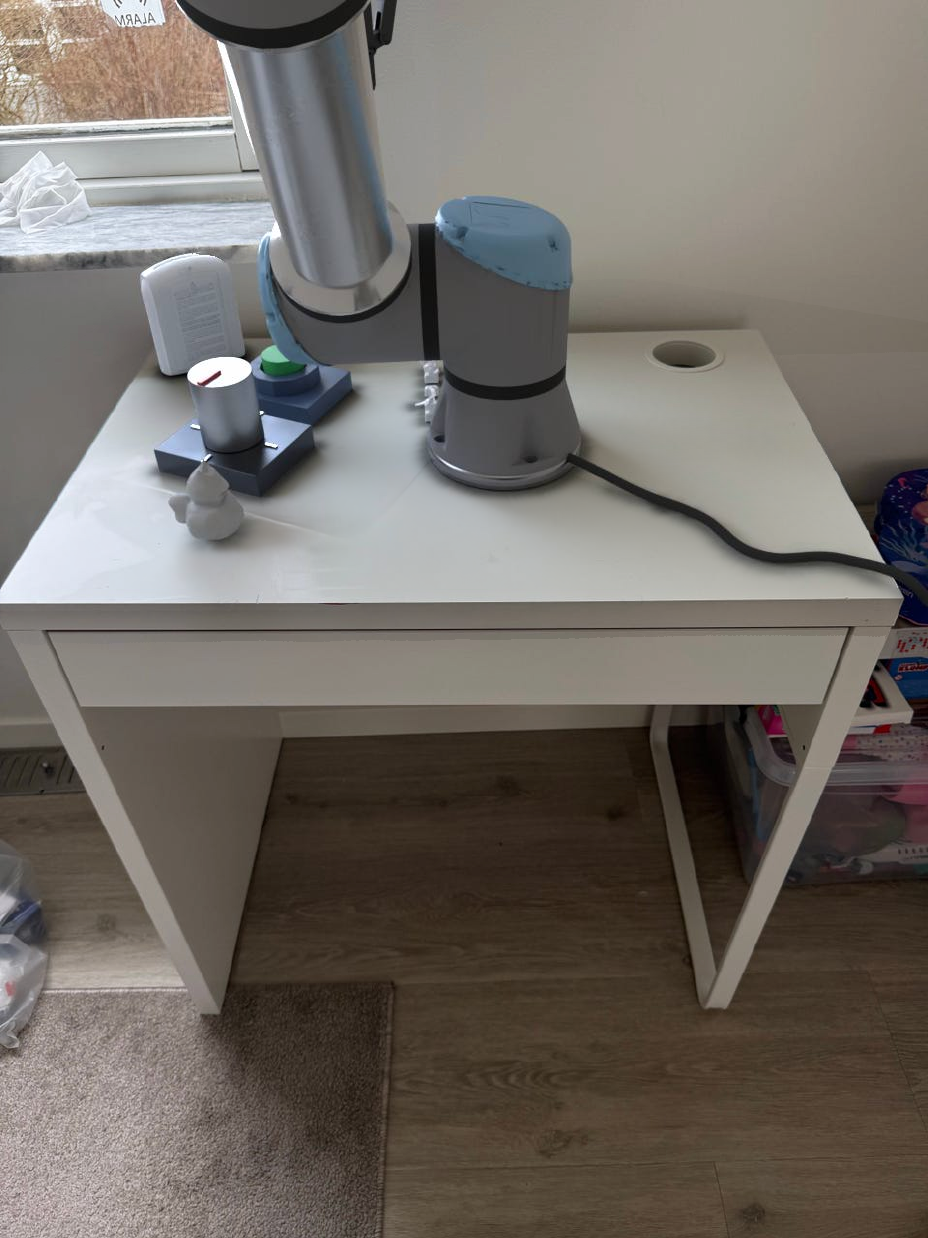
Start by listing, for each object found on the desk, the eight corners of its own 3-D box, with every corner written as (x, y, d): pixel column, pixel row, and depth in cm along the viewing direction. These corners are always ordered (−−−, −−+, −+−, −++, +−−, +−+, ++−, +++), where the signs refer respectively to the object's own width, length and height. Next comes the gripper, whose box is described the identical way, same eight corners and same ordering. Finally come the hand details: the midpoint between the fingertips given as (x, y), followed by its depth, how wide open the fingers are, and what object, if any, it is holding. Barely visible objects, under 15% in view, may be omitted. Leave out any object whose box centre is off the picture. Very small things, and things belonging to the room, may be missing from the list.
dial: (228, 415, 97) (214, 349, 92) (276, 429, 94) (264, 361, 89) (190, 444, 93) (173, 376, 88) (239, 458, 90) (224, 389, 86)
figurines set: (442, 422, 100) (441, 398, 98) (415, 423, 99) (413, 399, 98) (440, 368, 108) (439, 345, 107) (415, 369, 108) (414, 346, 106)
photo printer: (237, 343, 114) (217, 240, 106) (252, 356, 112) (232, 251, 104) (155, 367, 110) (128, 261, 102) (168, 381, 108) (141, 274, 99)
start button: (312, 362, 103) (310, 347, 101) (290, 380, 100) (287, 365, 98) (278, 355, 104) (275, 340, 103) (255, 373, 101) (252, 358, 100)
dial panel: (315, 445, 97) (312, 423, 95) (259, 498, 90) (254, 475, 88) (219, 422, 101) (214, 400, 99) (158, 471, 94) (151, 448, 92)
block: (352, 388, 105) (348, 355, 103) (309, 427, 99) (304, 393, 97) (269, 371, 109) (264, 338, 106) (223, 407, 103) (216, 373, 100)
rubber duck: (238, 552, 84) (220, 476, 78) (166, 548, 84) (144, 472, 79) (255, 516, 88) (239, 441, 82) (187, 512, 88) (167, 438, 83)
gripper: (264, -172, 76) (304, 145, 91) (419, -179, 79) (432, 129, 95) (247, -175, 81) (288, 126, 97) (393, -182, 84) (409, 111, 100)
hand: (359, 127), depth 96 cm, fingers closed
